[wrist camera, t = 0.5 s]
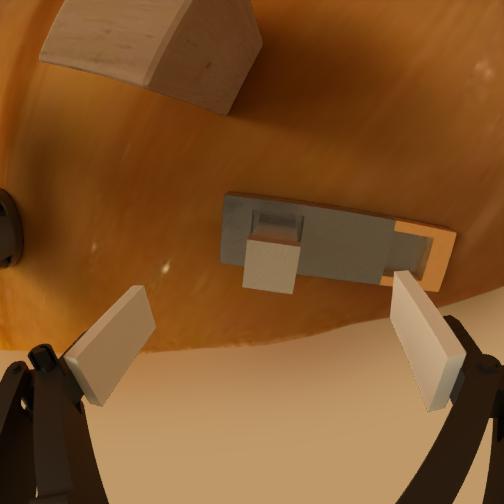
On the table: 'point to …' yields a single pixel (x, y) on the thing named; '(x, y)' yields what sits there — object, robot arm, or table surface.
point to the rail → (343, 240)
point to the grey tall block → (272, 255)
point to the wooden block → (160, 45)
